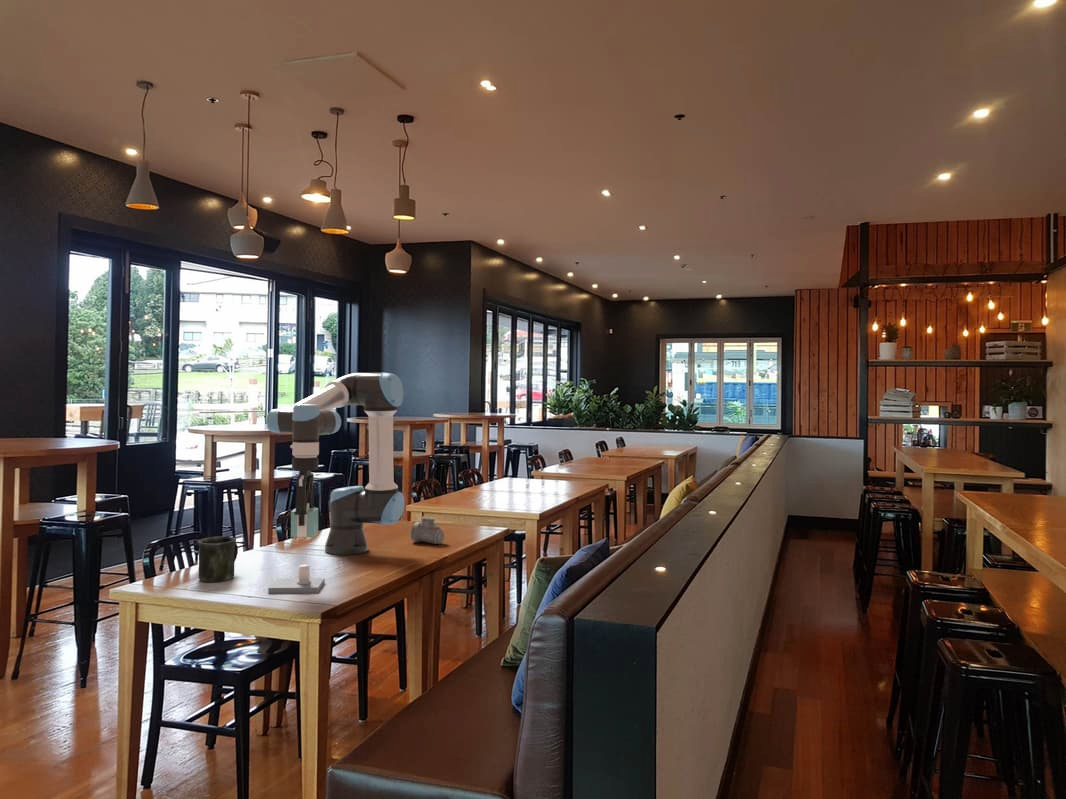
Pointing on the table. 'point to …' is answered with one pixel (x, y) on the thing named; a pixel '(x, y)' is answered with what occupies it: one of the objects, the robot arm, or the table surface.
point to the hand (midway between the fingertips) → (304, 534)
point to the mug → (217, 558)
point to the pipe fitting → (427, 531)
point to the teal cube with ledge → (311, 522)
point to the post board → (298, 583)
